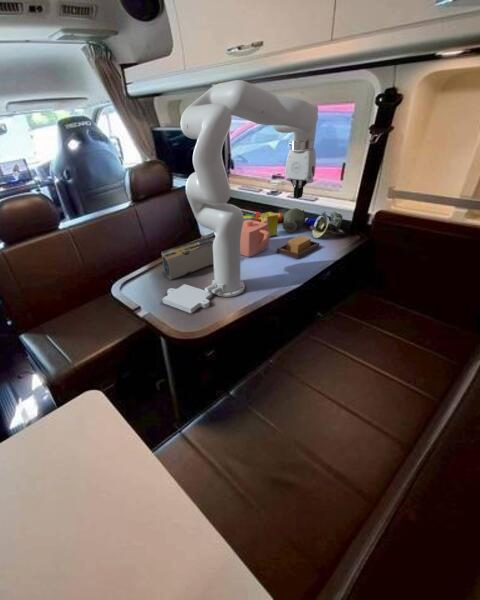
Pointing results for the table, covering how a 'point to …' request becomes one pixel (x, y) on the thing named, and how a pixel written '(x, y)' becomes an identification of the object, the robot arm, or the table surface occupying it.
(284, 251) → the brown wooden tray
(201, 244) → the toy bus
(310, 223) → the figurine
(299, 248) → the tan rectangular block
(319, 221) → the cream rimmed round part
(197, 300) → the mounting plate
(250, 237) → the pink jerry can
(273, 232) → the supplement box
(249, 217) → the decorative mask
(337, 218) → the toy vehicle
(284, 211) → the eraser
